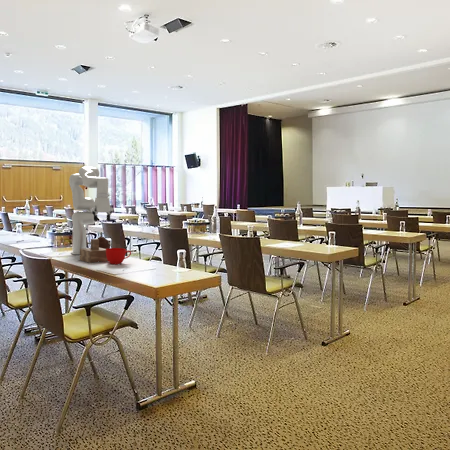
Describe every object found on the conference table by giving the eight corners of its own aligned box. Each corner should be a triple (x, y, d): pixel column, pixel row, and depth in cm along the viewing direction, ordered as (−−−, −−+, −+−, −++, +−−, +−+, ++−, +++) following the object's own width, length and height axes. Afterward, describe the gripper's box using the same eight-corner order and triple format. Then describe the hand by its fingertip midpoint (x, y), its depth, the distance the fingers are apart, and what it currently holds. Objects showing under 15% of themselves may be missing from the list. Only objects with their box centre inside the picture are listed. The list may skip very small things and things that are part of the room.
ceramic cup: (133, 264, 311) (134, 249, 310) (108, 266, 303) (108, 250, 302) (127, 261, 322) (128, 247, 321) (103, 263, 314) (103, 248, 313)
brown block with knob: (79, 259, 321) (79, 238, 320) (98, 258, 331) (99, 237, 330) (90, 262, 310) (90, 240, 309) (109, 261, 320) (109, 239, 319)
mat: (77, 260, 321) (77, 259, 321) (99, 258, 333) (99, 257, 333) (89, 263, 309) (89, 263, 309) (112, 261, 320) (112, 261, 320)
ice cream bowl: (106, 258, 334) (106, 237, 333) (92, 257, 336) (92, 236, 335) (112, 256, 344) (113, 236, 343) (98, 255, 347) (99, 235, 346)
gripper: (110, 195, 326) (110, 220, 327) (88, 195, 314) (87, 220, 315) (116, 196, 321) (116, 220, 322) (93, 195, 309) (93, 221, 310)
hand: (102, 220), depth 319 cm, fingers open, 9 cm apart
